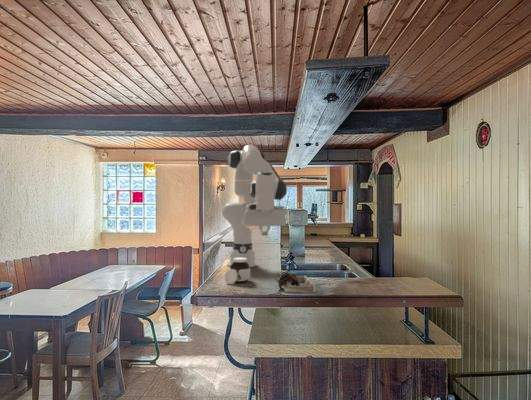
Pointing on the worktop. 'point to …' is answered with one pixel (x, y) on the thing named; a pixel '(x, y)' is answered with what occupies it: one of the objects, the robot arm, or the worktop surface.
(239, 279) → the spread jar
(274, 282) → the worktop surface
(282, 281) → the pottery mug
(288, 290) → the wooden u-shaped frame
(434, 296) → the worktop surface
